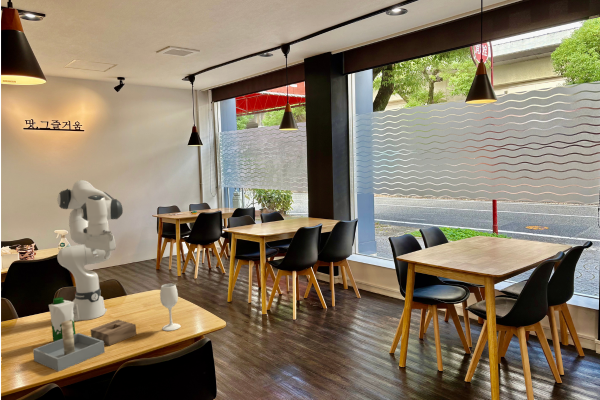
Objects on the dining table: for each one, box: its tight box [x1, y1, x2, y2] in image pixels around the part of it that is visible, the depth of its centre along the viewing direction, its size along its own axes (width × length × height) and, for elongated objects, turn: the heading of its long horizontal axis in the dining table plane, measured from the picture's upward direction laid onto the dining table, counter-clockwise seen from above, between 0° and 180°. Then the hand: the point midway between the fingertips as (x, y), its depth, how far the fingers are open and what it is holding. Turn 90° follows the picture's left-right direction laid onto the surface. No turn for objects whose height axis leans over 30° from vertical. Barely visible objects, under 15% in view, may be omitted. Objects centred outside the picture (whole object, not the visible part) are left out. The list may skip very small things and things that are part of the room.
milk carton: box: [48, 296, 77, 342], centre depth 203 cm, size 9×9×20 cm
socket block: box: [90, 319, 137, 346], centre depth 206 cm, size 14×14×5 cm
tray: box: [32, 332, 105, 372], centre depth 187 cm, size 20×20×5 cm
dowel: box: [61, 320, 75, 356], centre depth 186 cm, size 4×4×14 cm
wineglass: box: [159, 283, 182, 332], centre depth 214 cm, size 9×9×21 cm
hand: (101, 258), depth 211 cm, fingers open, 8 cm apart
